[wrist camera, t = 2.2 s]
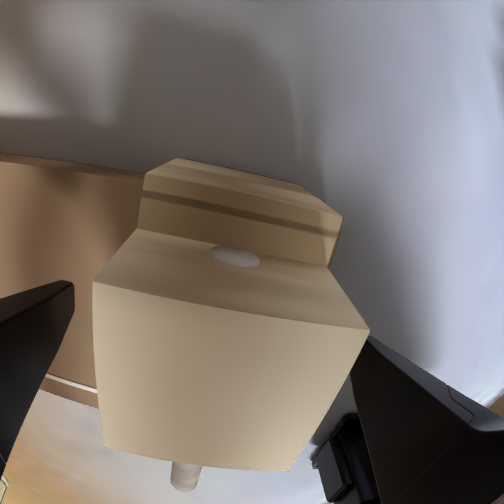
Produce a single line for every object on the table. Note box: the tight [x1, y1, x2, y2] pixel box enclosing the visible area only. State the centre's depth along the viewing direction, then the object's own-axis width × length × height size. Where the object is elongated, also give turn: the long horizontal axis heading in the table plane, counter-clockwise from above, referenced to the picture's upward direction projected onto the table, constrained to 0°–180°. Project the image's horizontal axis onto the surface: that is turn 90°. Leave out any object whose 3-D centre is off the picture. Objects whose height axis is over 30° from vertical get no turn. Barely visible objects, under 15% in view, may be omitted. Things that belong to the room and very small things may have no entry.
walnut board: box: [0, 153, 342, 408], centre depth 13 cm, size 22×12×2 cm, turn 76°
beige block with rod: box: [92, 158, 370, 492], centre depth 10 cm, size 5×12×8 cm, turn 166°
